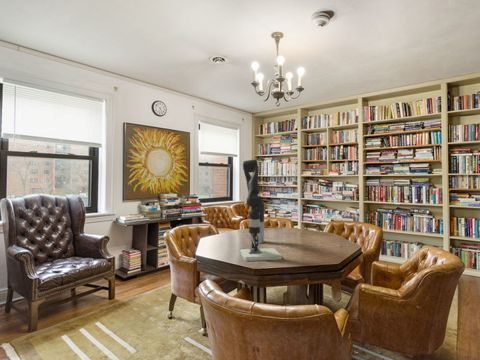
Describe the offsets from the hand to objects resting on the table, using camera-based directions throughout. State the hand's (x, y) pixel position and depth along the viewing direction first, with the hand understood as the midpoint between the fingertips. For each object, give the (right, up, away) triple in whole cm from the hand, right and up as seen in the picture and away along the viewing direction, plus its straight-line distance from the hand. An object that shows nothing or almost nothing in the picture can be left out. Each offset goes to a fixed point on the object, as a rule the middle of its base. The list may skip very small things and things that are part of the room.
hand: (254, 249), depth 189 cm
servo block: (0, -4, 0) cm, 4 cm away
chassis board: (+4, -4, +1) cm, 6 cm away
